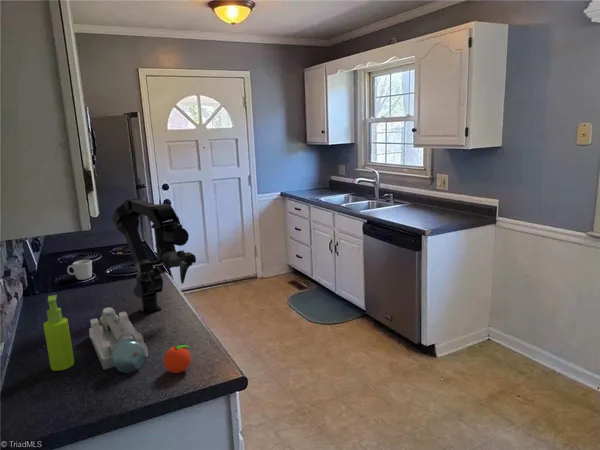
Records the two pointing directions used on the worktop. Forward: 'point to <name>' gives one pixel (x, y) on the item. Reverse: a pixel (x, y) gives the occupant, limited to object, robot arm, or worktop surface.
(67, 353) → the soap dispenser
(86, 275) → the cup
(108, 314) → the electric toothbrush handle
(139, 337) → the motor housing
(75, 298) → the worktop surface
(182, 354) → the clementine
